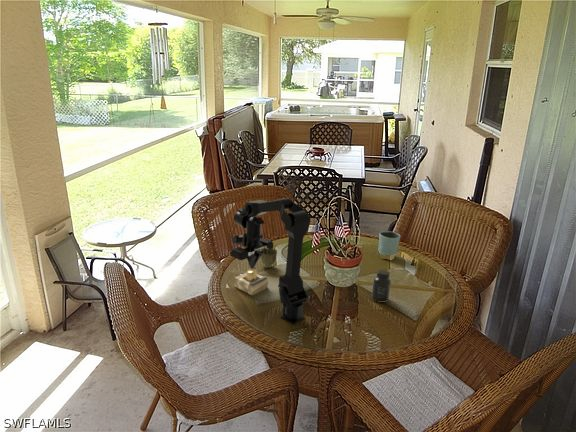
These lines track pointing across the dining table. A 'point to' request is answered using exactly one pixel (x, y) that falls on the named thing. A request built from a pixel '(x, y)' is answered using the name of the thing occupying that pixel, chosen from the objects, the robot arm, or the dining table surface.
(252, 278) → the gold metal cylinder
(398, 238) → the teal plant pot
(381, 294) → the supplement bottle
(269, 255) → the cup
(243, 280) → the jig
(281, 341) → the dining table surface
